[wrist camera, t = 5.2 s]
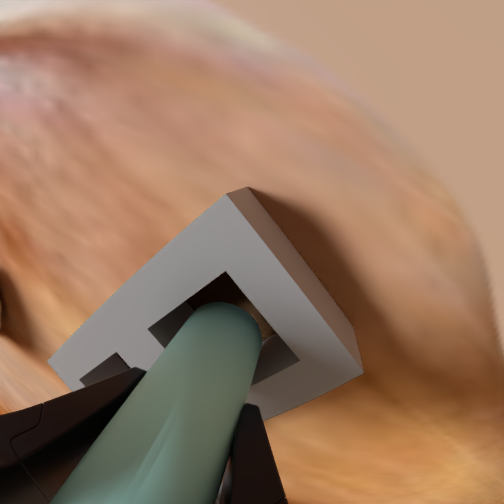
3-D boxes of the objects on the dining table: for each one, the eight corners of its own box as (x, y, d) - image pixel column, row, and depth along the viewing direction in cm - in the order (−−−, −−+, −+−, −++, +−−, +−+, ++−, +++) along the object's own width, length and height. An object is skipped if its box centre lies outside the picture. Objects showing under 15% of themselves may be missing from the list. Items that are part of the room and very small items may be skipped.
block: (353, 327, 13) (364, 372, 10) (162, 422, 18) (142, 458, 14) (247, 186, 13) (225, 193, 9) (80, 333, 17) (47, 361, 13)
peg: (278, 347, 11) (208, 625, 2) (220, 378, 12) (120, 595, 3) (227, 287, 11) (47, 561, 1) (172, 325, 12) (10, 529, 2)
